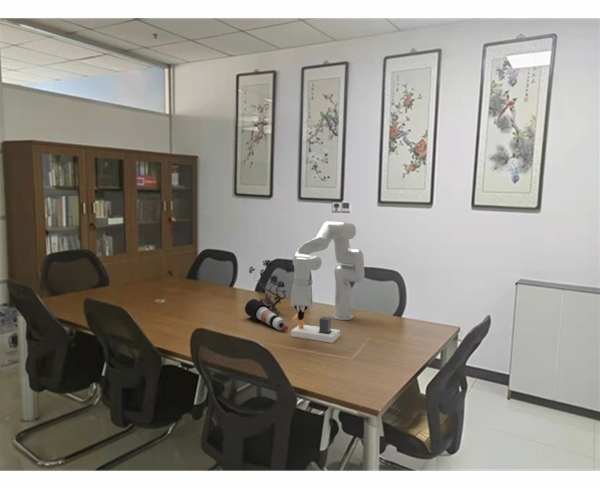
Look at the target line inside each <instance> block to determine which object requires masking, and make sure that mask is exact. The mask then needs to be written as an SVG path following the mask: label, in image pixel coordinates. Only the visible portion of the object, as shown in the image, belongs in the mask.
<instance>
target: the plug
mask: <svg viewBox="0 0 600 488" xmlns="http://www.w3.org/2000/svg"><path fill="white" fill-rule="evenodd" d="M331 326H332V317H328V316H321V317H320V318H319V327H320V329H319V333H324V334H330V333H331V329H332V328H331Z"/></svg>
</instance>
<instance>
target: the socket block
mask: <svg viewBox="0 0 600 488" xmlns="http://www.w3.org/2000/svg"><path fill="white" fill-rule="evenodd" d="M319 329H320V326H315V325H307V324H304V328H299V324H298V325H296V327H294V328H292V329H291V330H290V337H293V338H300V339H305V340H306V339H307V340H312V341H317V342H324V343H330V344H331V343H332V344H333V343H334V342H335V341H336V340H337V339H338V338H339V337H340V336H341V329H336V328H331V333H330V334H324V333H319Z"/></svg>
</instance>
